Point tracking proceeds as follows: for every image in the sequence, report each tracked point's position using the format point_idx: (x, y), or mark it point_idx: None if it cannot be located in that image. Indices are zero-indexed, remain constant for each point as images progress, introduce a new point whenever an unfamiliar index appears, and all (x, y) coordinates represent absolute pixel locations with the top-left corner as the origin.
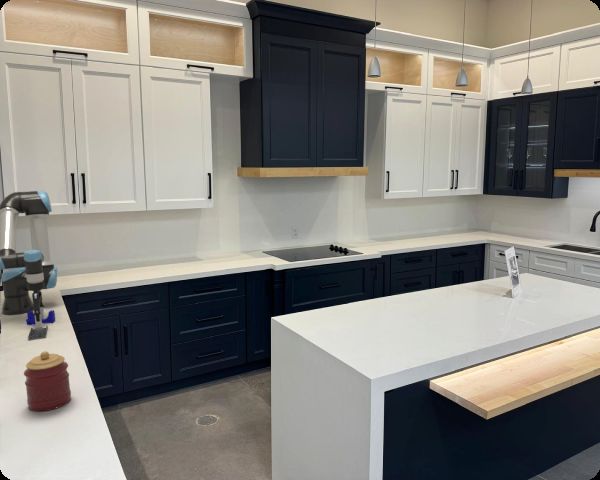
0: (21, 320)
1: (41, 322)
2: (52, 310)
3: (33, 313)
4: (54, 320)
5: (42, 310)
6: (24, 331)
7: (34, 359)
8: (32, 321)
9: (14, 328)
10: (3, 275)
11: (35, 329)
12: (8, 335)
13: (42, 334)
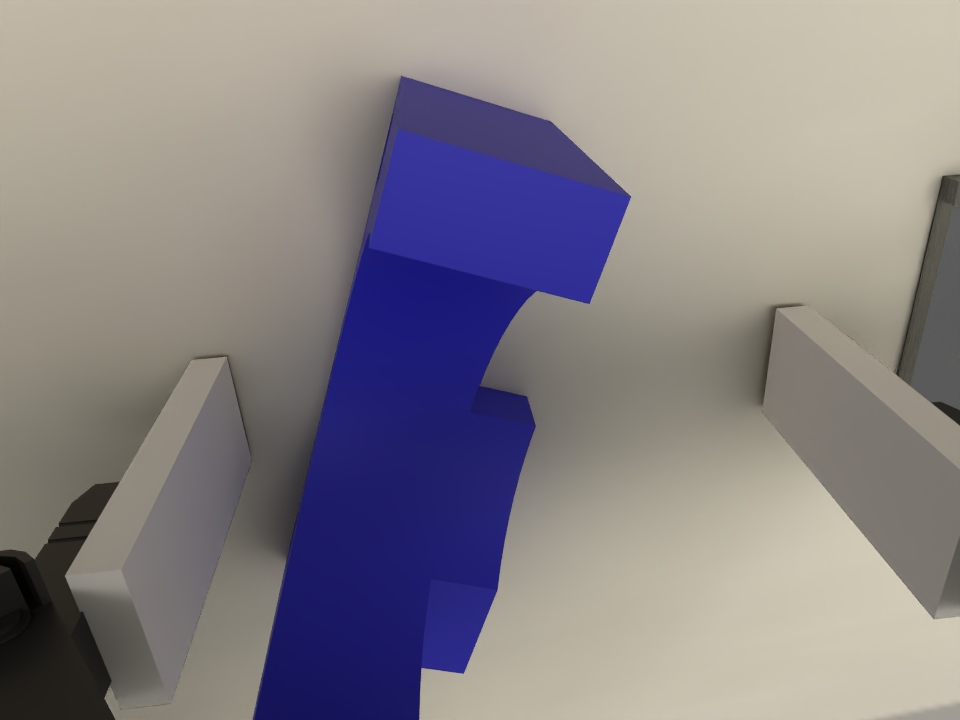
0: (113, 713)
1: (865, 356)
2: (434, 191)
3: (275, 656)
4: (452, 94)
5: (158, 517)
6: (843, 544)
7: None
8: (495, 546)
9: (572, 700)
10: None
11: (933, 399)
12: (899, 689)
13: None
